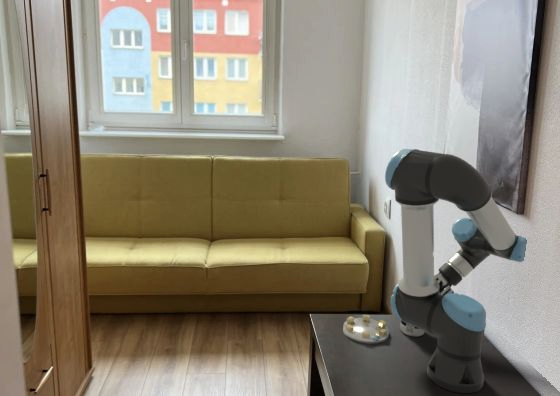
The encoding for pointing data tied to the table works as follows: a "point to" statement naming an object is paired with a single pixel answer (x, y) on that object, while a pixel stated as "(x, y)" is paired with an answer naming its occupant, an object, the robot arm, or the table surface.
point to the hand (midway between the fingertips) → (404, 316)
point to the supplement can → (411, 329)
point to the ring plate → (366, 330)
